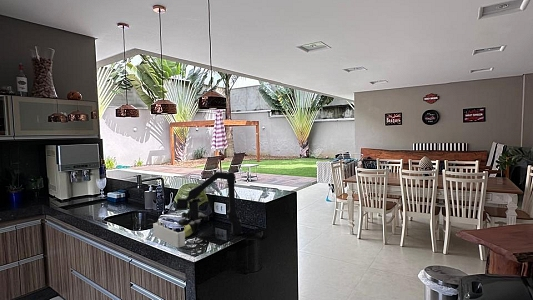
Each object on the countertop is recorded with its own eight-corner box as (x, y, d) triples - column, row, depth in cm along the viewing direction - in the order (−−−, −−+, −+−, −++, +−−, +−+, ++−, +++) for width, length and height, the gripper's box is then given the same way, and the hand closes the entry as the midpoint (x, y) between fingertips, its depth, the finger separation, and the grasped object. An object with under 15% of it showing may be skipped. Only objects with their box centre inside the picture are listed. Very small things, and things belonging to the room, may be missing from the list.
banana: (199, 219, 196) (182, 232, 177) (202, 227, 196) (185, 240, 177) (183, 223, 201) (164, 235, 182) (185, 230, 201) (167, 244, 182)
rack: (185, 245, 167) (184, 226, 167) (177, 247, 164) (177, 228, 163) (160, 234, 188) (160, 217, 188) (153, 236, 185) (153, 218, 184)
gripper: (199, 204, 196) (199, 227, 196) (173, 209, 182) (174, 234, 183) (209, 207, 188) (209, 231, 189) (183, 212, 175) (183, 238, 175)
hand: (194, 233), depth 184 cm, fingers closed
